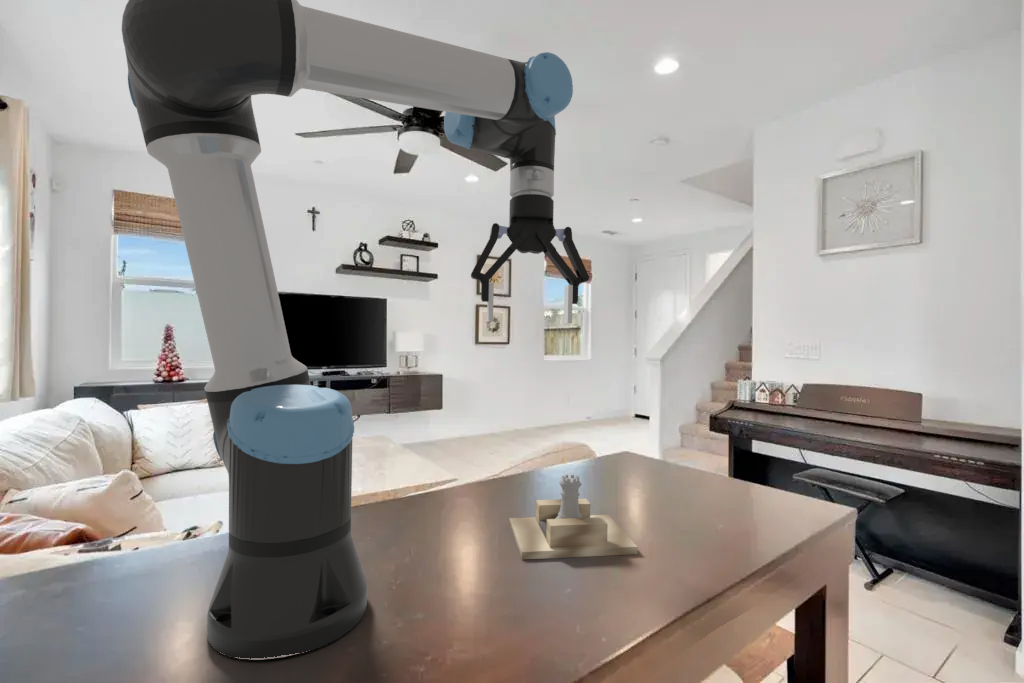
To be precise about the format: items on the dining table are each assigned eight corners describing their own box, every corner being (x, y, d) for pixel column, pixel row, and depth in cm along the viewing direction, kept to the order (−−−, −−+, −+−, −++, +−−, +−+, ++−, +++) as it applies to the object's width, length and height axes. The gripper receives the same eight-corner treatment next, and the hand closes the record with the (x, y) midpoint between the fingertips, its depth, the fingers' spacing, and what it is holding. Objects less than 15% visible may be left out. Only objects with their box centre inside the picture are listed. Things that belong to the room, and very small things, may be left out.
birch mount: (521, 559, 65) (522, 529, 65) (509, 524, 77) (509, 499, 77) (637, 554, 68) (637, 524, 68) (607, 520, 80) (608, 496, 80)
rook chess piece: (589, 530, 73) (590, 476, 73) (576, 540, 69) (577, 483, 69) (562, 523, 76) (563, 471, 75) (548, 532, 72) (549, 478, 72)
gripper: (459, 187, 79) (457, 320, 80) (609, 196, 83) (606, 323, 83) (457, 199, 87) (455, 321, 87) (595, 207, 90) (592, 324, 91)
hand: (529, 322), depth 85 cm, fingers open, 13 cm apart
